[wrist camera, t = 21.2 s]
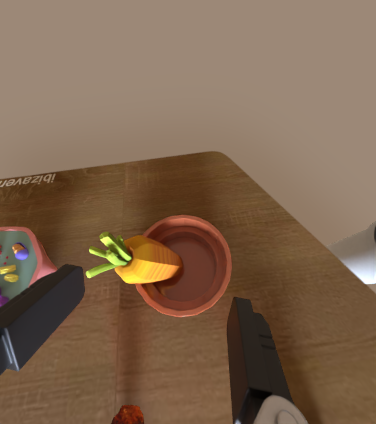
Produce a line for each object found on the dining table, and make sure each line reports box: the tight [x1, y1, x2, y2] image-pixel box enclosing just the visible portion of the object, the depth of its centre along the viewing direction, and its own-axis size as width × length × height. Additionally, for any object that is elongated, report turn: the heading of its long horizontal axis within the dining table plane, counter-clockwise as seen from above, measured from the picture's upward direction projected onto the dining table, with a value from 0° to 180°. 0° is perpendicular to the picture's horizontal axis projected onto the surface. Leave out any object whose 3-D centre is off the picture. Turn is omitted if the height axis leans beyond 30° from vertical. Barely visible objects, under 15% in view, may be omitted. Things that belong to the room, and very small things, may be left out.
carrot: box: [86, 232, 184, 283], centre depth 21 cm, size 5×5×15 cm
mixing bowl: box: [135, 215, 232, 317], centre depth 25 cm, size 12×12×6 cm
